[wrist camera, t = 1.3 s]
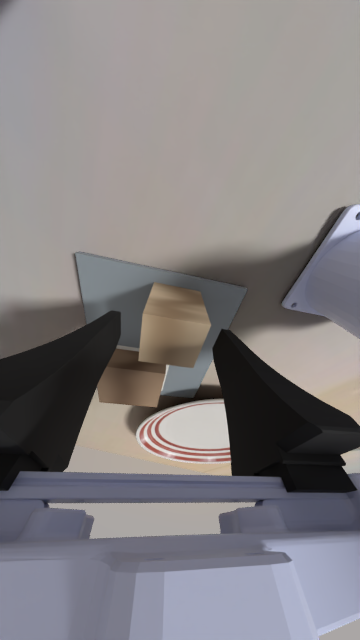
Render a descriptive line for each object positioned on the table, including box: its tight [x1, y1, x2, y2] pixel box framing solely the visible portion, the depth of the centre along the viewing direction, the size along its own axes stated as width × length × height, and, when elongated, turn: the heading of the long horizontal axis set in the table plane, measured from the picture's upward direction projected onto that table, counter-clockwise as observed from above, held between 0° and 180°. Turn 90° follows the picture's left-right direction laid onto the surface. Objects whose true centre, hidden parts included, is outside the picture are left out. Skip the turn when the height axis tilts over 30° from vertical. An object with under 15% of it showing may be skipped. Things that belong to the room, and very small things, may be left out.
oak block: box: [138, 282, 211, 368], centre depth 12 cm, size 4×4×5 cm
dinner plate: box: [136, 399, 231, 464], centre depth 27 cm, size 28×27×3 cm
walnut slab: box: [97, 349, 166, 407], centre depth 18 cm, size 7×7×2 cm
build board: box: [75, 251, 247, 398], centre depth 17 cm, size 14×18×1 cm
